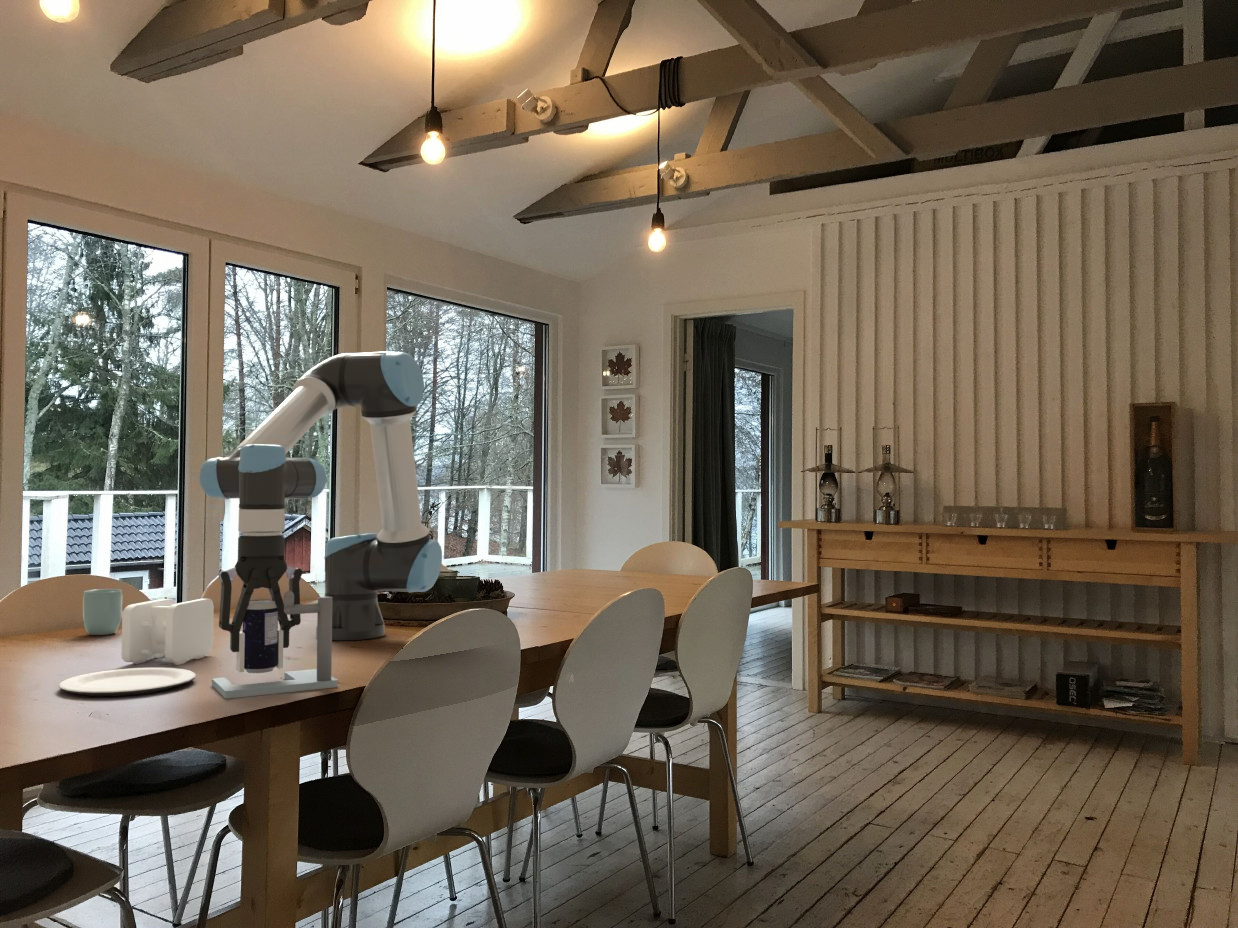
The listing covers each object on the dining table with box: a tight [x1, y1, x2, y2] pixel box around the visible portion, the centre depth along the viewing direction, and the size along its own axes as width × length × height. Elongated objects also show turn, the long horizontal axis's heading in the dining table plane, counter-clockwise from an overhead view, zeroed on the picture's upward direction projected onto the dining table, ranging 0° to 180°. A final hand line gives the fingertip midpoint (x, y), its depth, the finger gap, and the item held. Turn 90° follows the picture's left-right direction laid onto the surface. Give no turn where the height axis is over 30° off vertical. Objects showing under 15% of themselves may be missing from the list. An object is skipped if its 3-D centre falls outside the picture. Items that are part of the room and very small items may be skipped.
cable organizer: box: [121, 598, 215, 666], centre depth 189 cm, size 15×11×12 cm
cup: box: [82, 588, 123, 636], centre depth 222 cm, size 8×8×10 cm
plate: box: [58, 667, 197, 697], centre depth 165 cm, size 21×21×2 cm
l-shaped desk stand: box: [211, 590, 339, 700], centre depth 165 cm, size 18×12×17 cm, turn 122°
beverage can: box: [242, 598, 279, 674], centre depth 166 cm, size 6×6×12 cm
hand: (259, 668), depth 166 cm, fingers closed on beverage can, 6 cm apart
